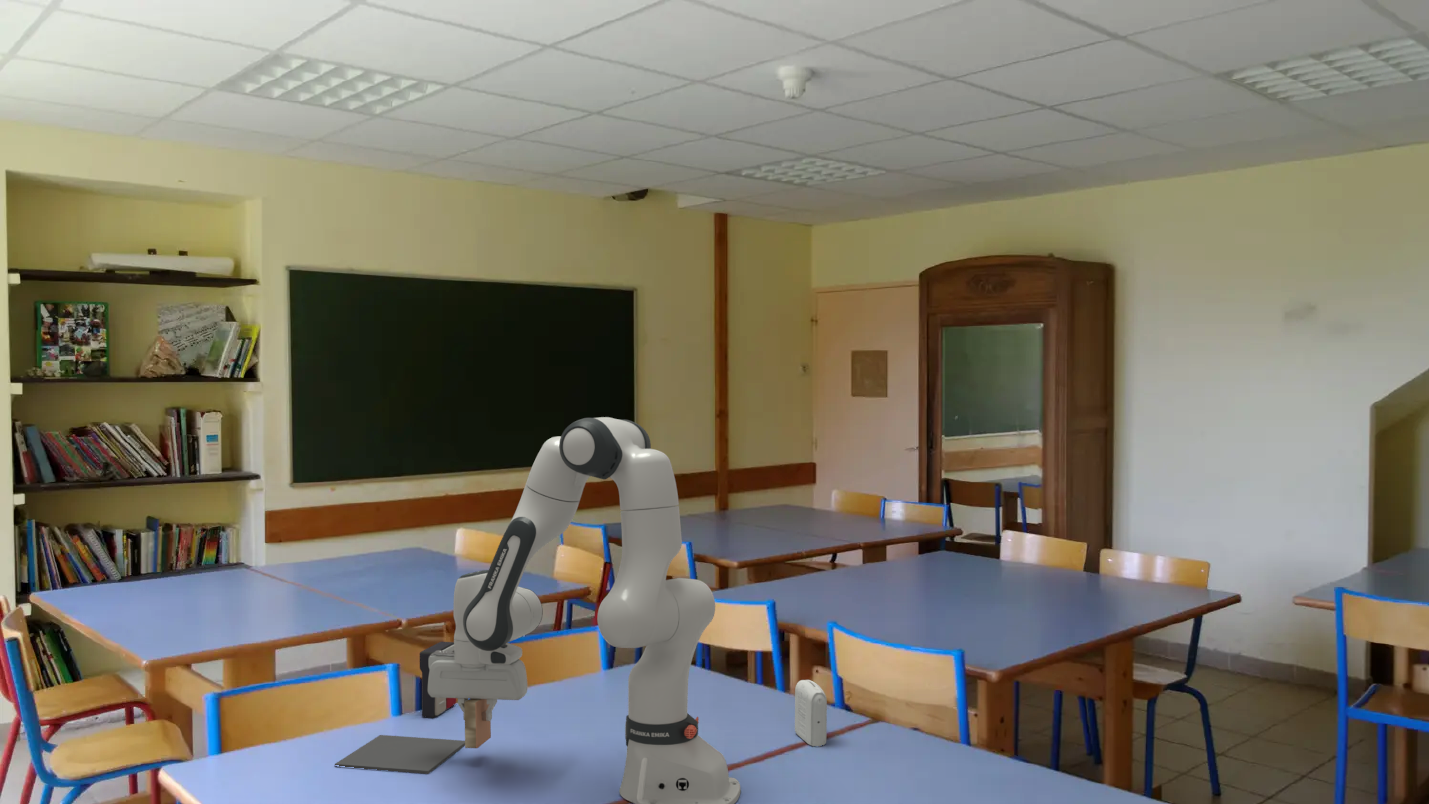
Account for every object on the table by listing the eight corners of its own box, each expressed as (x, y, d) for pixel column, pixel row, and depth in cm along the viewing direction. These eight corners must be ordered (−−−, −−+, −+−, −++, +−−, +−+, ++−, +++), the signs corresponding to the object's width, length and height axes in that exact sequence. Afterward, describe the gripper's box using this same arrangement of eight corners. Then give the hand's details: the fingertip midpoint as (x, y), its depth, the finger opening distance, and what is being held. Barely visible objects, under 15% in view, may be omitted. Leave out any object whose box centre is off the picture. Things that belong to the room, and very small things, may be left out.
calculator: (436, 718, 239) (436, 653, 239) (419, 717, 240) (419, 652, 240) (458, 704, 250) (457, 641, 249) (441, 703, 250) (441, 641, 250)
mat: (467, 743, 222) (467, 740, 222) (428, 774, 204) (428, 771, 204) (380, 737, 226) (380, 734, 226) (334, 766, 208) (334, 763, 208)
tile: (490, 737, 215) (490, 693, 215) (477, 748, 208) (476, 702, 208) (479, 736, 215) (478, 692, 215) (465, 747, 208) (464, 702, 208)
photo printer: (829, 745, 221) (829, 687, 221) (810, 747, 220) (810, 689, 220) (810, 730, 231) (810, 674, 231) (792, 732, 230) (792, 676, 229)
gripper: (421, 653, 210) (422, 722, 210) (518, 656, 207) (519, 726, 206) (435, 646, 216) (436, 713, 216) (529, 648, 213) (530, 717, 213)
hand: (477, 719), depth 211 cm, fingers closed on tile, 2 cm apart
